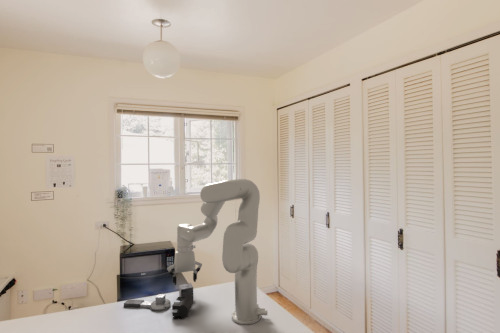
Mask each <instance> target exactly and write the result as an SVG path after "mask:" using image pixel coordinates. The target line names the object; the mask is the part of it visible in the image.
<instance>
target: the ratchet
mask: <svg viewBox="0 0 500 333" xmlns="http://www.w3.org/2000/svg"><path fill="white" fill-rule="evenodd" d="M171 307H172V305H171V300H170V299H167V298H166V294H165V293H164V294H163V293H161V294H160V293H159V294H157V295H156V296H155V300H154V301H152V300H151V301H150V300H149V301H148V300H146V301H145V299H127V300H126V301H125V302H124V303H123V308H135V309H138V308H139V309H140V308H141V309H142V308H143V309H150V310H151V311H153V312H162V311H166V310H168V309H170V308H171Z"/></svg>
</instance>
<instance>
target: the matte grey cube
mask: <svg viewBox="0 0 500 333" xmlns="http://www.w3.org/2000/svg"><path fill="white" fill-rule="evenodd" d="M178 290H179V292H178V295H179V296H178V297H186V296H187V295H190V296H191V297H192V298H193V299H194V286H193V284H192V282H189V283H188V282H187V283H183V284H178Z"/></svg>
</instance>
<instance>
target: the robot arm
mask: <svg viewBox="0 0 500 333" xmlns="http://www.w3.org/2000/svg"><path fill="white" fill-rule="evenodd" d="M259 190H260V189H259V188H258V186H257V185H256V184H255V182H253V181H252V180H250V179H247V178H237V179H226V180H222V181H218V182H214V183H207V184H205V185H204V186H202V188H201V190H200V194H199V195H200V199H201V201H202V204H201V207H200V212H201V213H202V215H204V217H205V219H204V221H203V222H202V223H199V224H196V225H192V224H191V223H180V224H178V225H177V227H176V229H177V230H176V231H177V233H176V234H177V237H176V242H177V243H176V244H177V246H176V251H175V254H174V259H173V260H174V263H173V264H171V265H169V266H168V267H167V268H166V270H167V271H168V273H169V275H170V276H172V283H173V284H174V285H175V286H176V285H177V275H178V273H187V272H193V273H192V279H193V282H194V283H196V282H197V280H198V278H197V277H198V273H199V272H200V271H201V269H202V266H203V263H201V262H198V261H197V260H196V256H195V255H196V254H195V251H194V249H196V245H194V244H193V243H195V242H198V241H201V240H204V239H207V238H209V237H210V236H212V234H213V232H214V231H215V229H216V227H217V225H218V215H219V213H220V212H221V209H222V208H223V206H224V204H225V203H226V202H229V201H234V200H240V199H241V203H240V205H239V206H238V215H237V216H238V217H237V221H236V222H233V223H231V224H229V225H227V227H226V228H225V230H224V232H223V242H222V253H221V254H222V256H221V259H222V265H223V268H224V269H225V271H226V272H227V273H230V274H234V303H235V304H234V306H235V308H234V309H235V310H234V311H233V312H232V314H231V319H232V321H233V322H235V323H236V324H239V325H253V324H255V323H258V322H259V321H260V320H261V318H262V316H268V309H267V310H266V308H265V307H263V308H261V307H259V304H258V287H257V284H258V283H257V282H258V280H257V279H258V278H257V276H258V275H257V274H258V272H257V270H258V262H259V252H258V250H257V249H258V248H256V246H255V245H253V244H252V243H250V242H253V241H254V240H255V239H256V237H257V233H258V222H259V208H260V199H261V196H260V191H259ZM196 266H197V268H196ZM172 269H174V271H172Z"/></svg>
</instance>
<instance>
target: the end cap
mask: <svg viewBox="0 0 500 333" xmlns="http://www.w3.org/2000/svg"><path fill="white" fill-rule="evenodd" d="M176 301H177V302H175V301H174V302H173V304H172V305H171V310H173V311H172V312H171V315H172V320H184V319H185V318H186V317H187V316H188V314H189V312H191V309H192V307H193V306H194V304H195V300H194V297H193V298H192V297H191V296H190V295H187V296H186V297H179V296H178V297H177V298H176ZM175 310H176V311H175Z"/></svg>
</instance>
